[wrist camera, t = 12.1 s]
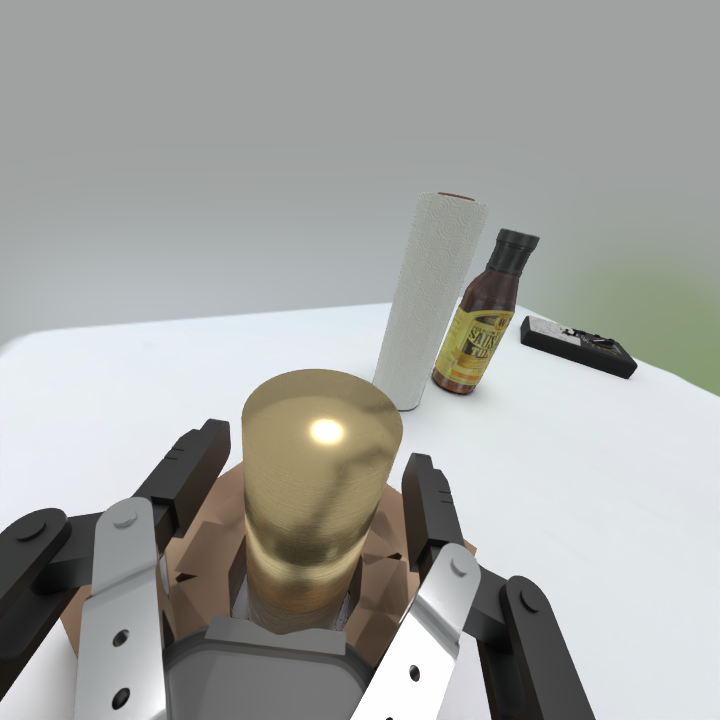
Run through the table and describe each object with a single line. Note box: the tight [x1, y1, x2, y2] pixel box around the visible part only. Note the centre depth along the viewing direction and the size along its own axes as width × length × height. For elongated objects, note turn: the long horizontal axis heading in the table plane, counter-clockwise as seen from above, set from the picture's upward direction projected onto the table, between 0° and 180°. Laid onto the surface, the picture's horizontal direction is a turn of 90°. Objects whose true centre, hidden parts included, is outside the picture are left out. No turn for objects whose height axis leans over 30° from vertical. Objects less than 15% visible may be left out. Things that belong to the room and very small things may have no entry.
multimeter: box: [521, 316, 637, 379], centre depth 60 cm, size 13×19×5 cm
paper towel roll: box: [372, 192, 491, 410], centre depth 29 cm, size 7×6×21 cm
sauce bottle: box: [432, 228, 540, 394], centre depth 35 cm, size 7×6×20 cm
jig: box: [60, 462, 477, 667], centre depth 15 cm, size 14×14×4 cm
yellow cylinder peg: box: [241, 369, 403, 635], centre depth 12 cm, size 5×5×14 cm
